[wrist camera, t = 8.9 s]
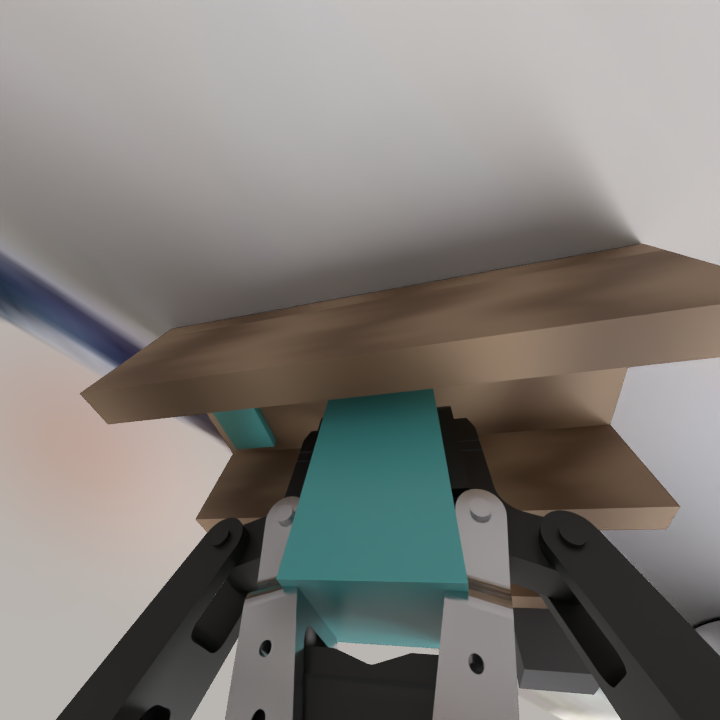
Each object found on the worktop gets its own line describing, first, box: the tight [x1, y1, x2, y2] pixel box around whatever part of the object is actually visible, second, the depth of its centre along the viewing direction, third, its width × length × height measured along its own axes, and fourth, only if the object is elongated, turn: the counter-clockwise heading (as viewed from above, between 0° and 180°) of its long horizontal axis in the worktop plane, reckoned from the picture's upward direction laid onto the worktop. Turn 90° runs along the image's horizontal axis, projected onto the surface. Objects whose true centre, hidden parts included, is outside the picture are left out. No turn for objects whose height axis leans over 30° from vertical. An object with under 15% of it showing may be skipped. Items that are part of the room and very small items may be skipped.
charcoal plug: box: [513, 608, 600, 695], centre depth 19 cm, size 4×4×7 cm
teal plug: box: [276, 389, 469, 649], centre depth 10 cm, size 4×4×7 cm
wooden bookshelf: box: [80, 244, 720, 609], centre depth 15 cm, size 20×18×5 cm
